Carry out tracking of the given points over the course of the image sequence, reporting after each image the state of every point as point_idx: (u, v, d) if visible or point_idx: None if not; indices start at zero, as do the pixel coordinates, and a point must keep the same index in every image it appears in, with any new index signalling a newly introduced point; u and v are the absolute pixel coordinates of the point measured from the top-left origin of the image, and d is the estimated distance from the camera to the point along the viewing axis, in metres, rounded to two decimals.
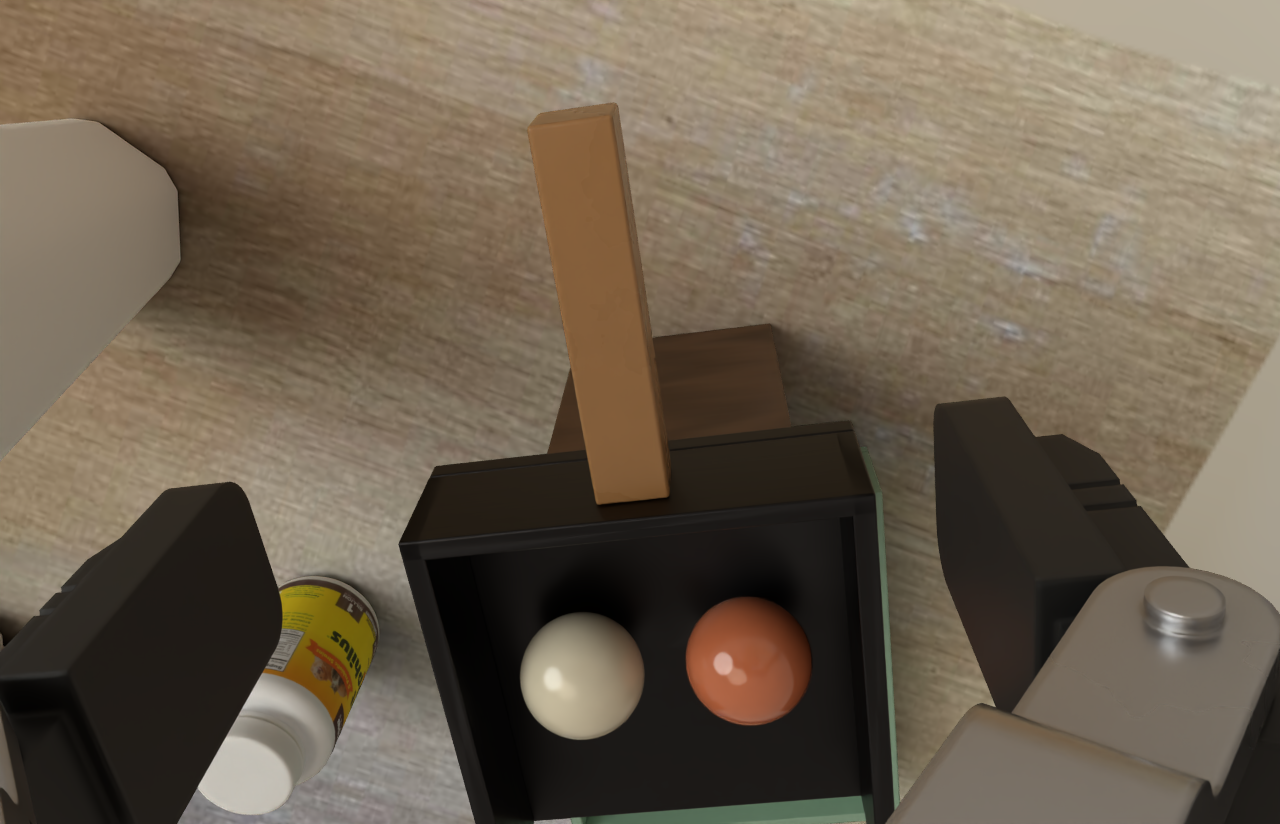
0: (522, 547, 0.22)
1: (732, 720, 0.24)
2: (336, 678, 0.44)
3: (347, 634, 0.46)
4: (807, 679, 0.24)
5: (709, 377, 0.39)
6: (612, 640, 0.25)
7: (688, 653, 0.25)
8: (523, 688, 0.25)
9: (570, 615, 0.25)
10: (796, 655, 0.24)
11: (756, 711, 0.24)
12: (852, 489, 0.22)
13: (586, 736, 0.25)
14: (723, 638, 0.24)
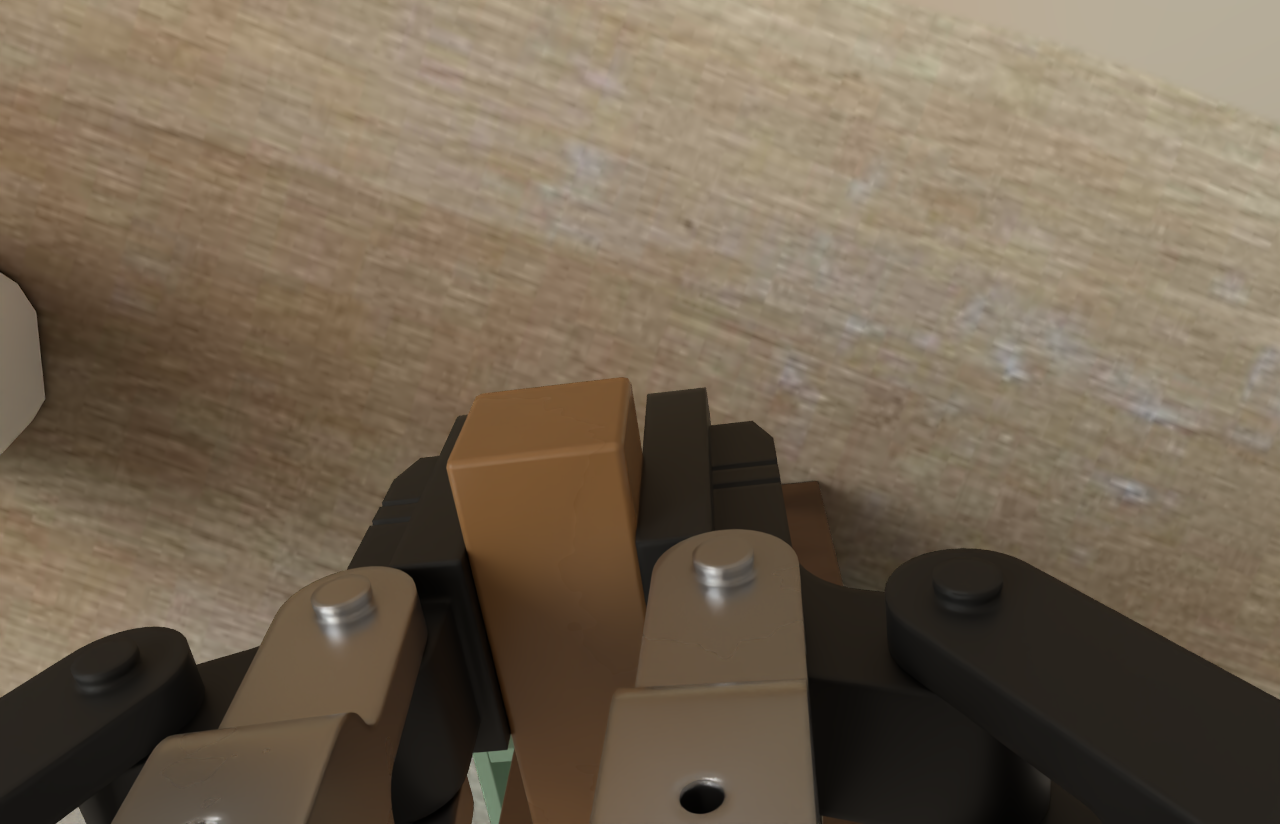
0: None
1: None
2: None
3: None
4: None
5: None
6: None
7: None
8: None
9: None
10: None
11: None
12: None
13: None
14: None
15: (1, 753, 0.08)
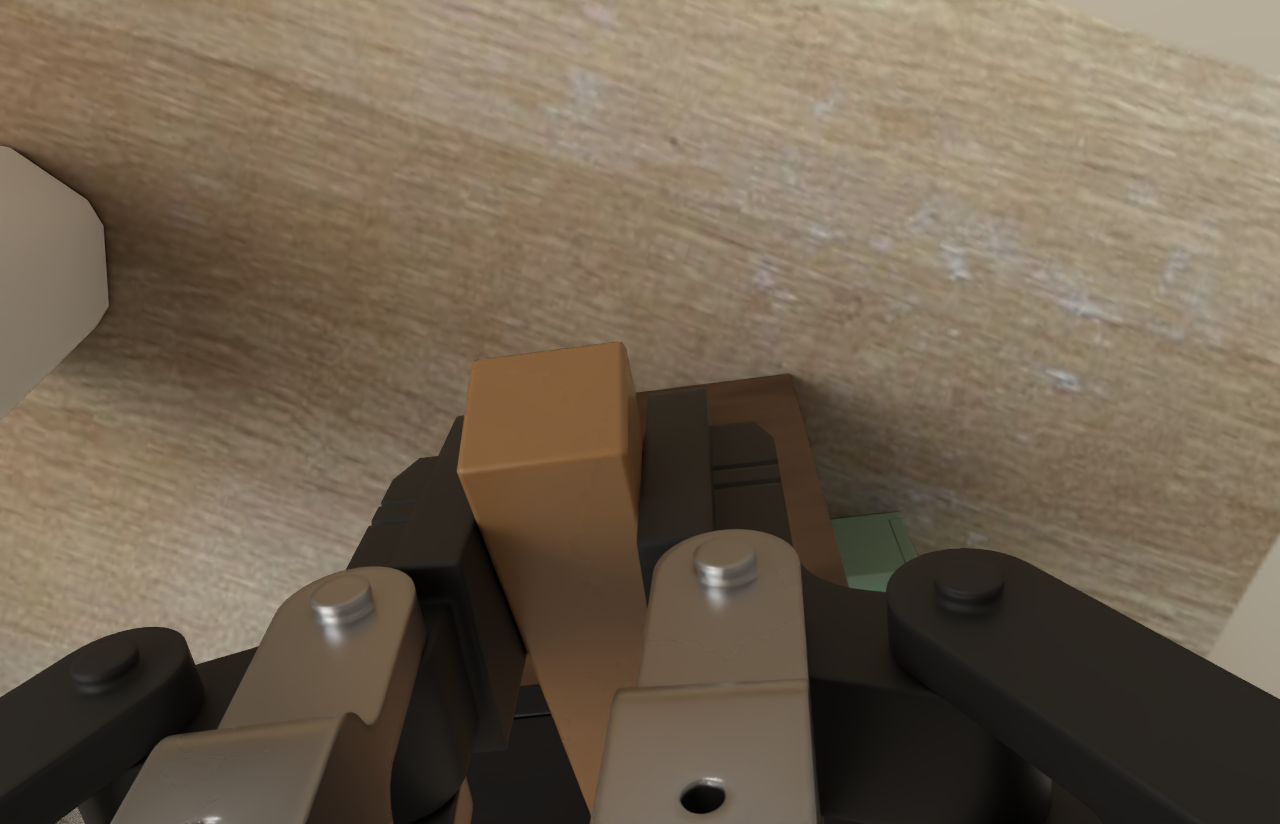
0: None
1: None
2: None
3: None
4: None
5: None
6: None
7: None
8: None
9: None
10: None
11: None
12: None
13: None
14: None
15: (0, 753, 0.08)
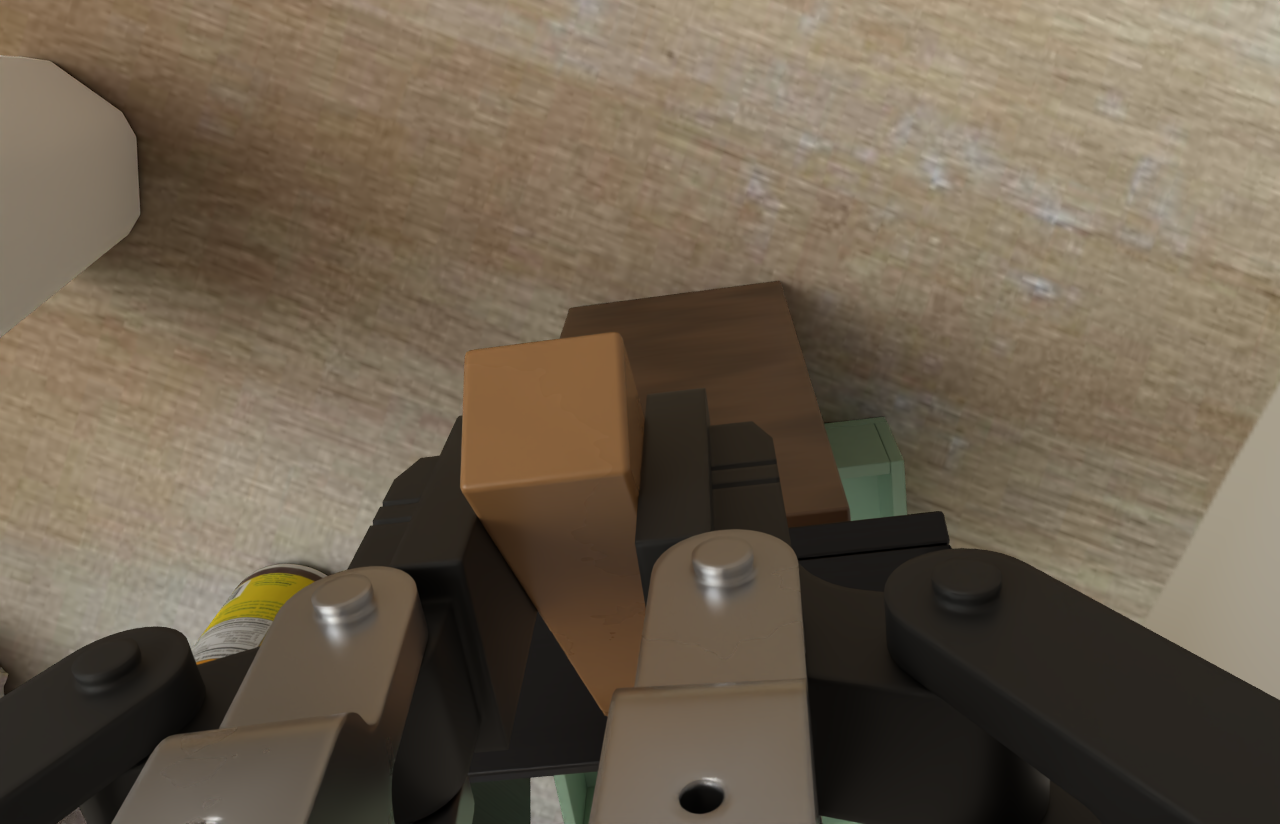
0: (511, 778, 0.17)
1: None
2: None
3: None
4: None
5: (715, 330, 0.35)
6: None
7: None
8: None
9: None
10: None
11: None
12: None
13: None
14: None
15: (2, 753, 0.08)
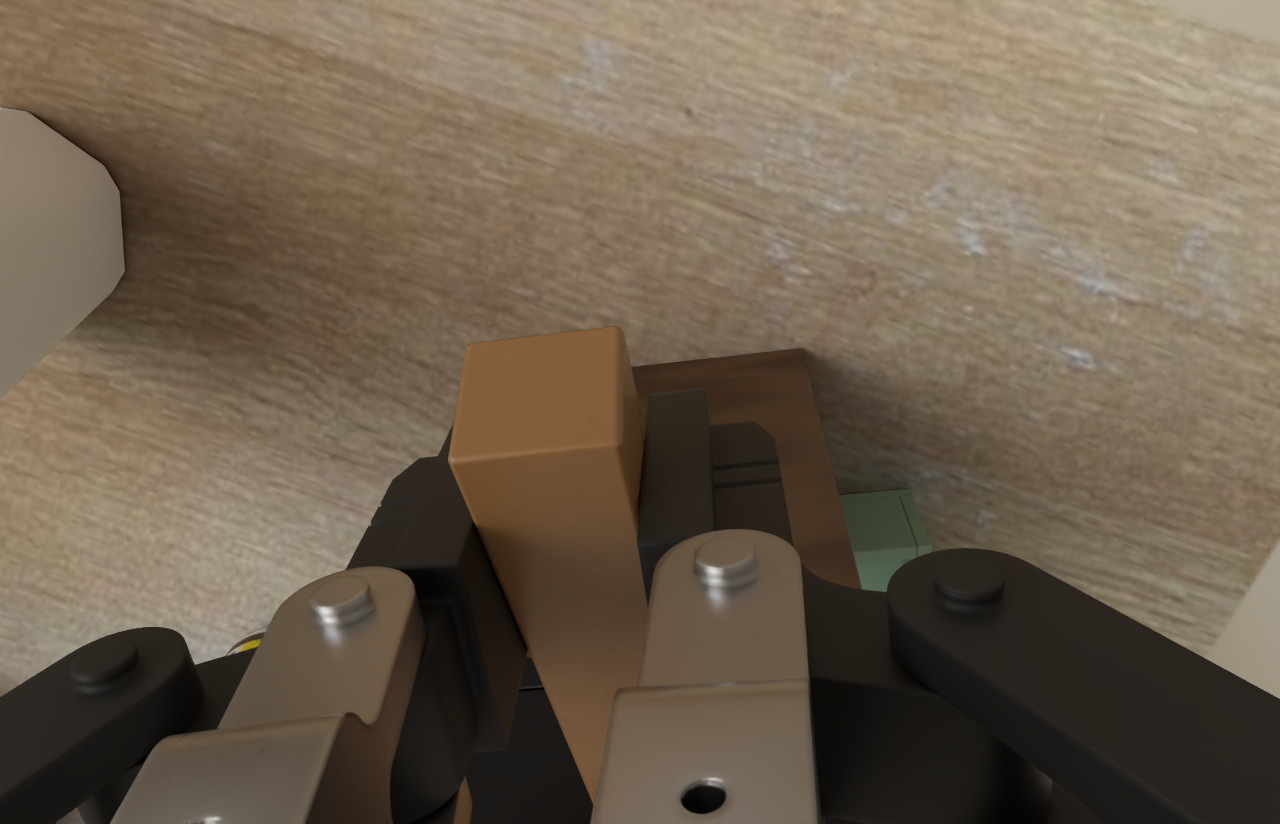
0: None
1: None
2: None
3: None
4: None
5: (733, 413, 0.33)
6: None
7: None
8: None
9: None
10: None
11: None
12: None
13: None
14: None
15: (0, 753, 0.08)
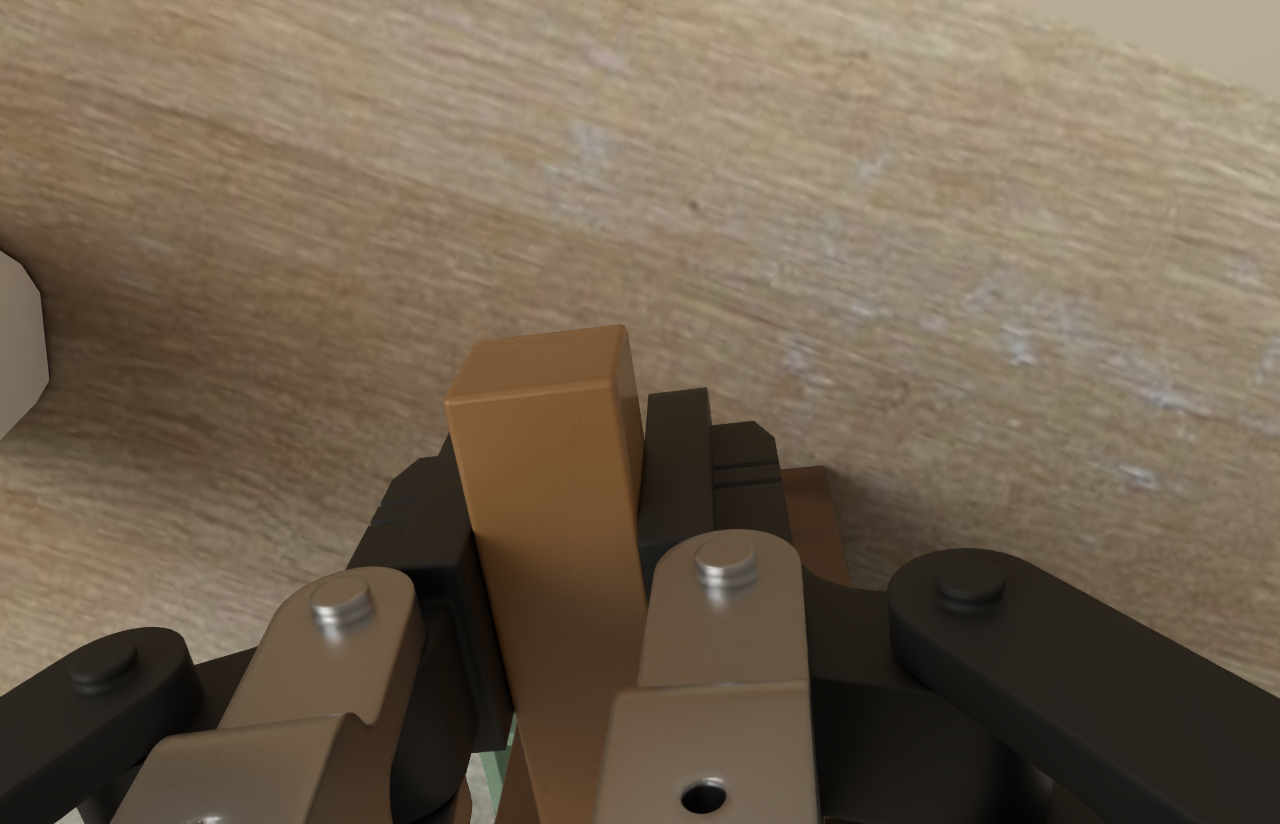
0: None
1: None
2: None
3: None
4: None
5: None
6: None
7: None
8: None
9: None
10: None
11: None
12: None
13: None
14: None
15: None
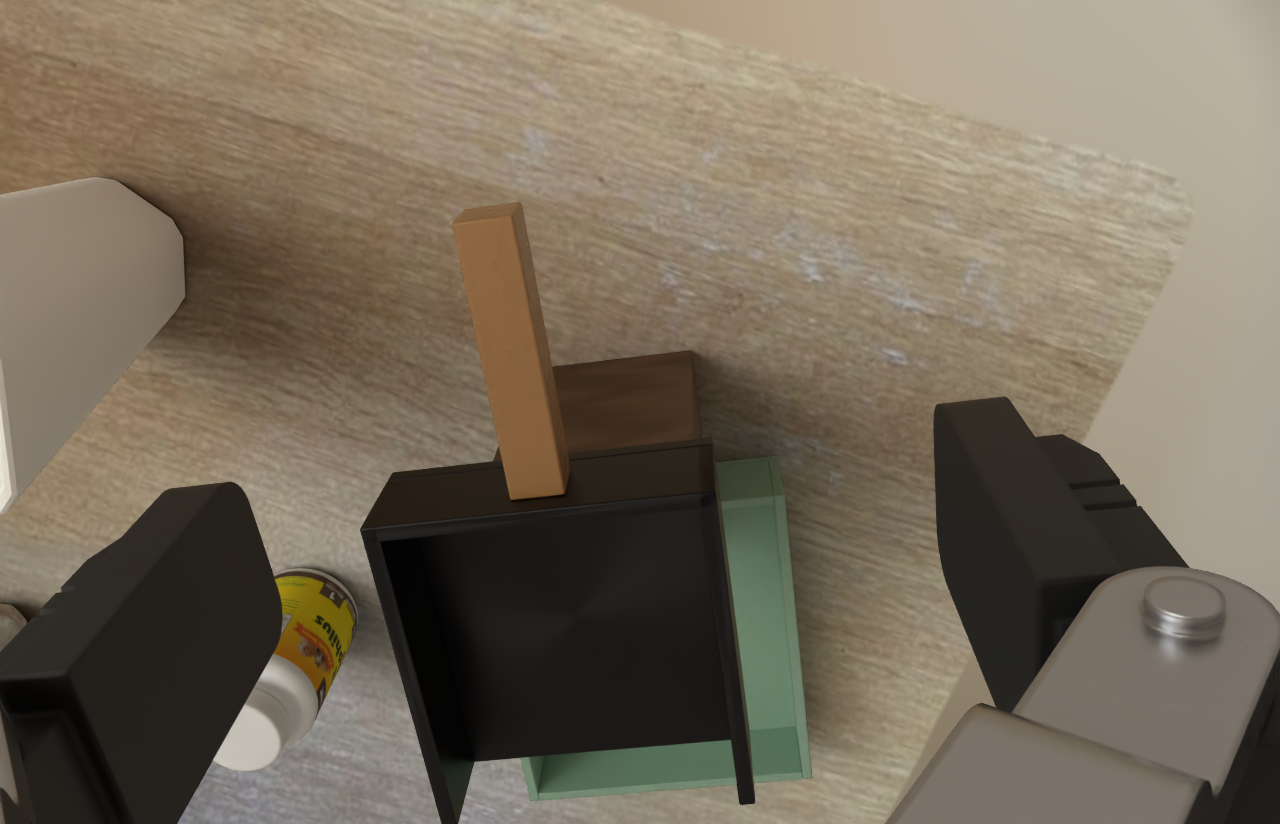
0: (453, 531, 0.30)
1: None
2: (319, 655, 0.51)
3: (329, 618, 0.53)
4: None
5: (633, 398, 0.46)
6: None
7: None
8: None
9: None
10: None
11: None
12: (699, 488, 0.29)
13: None
14: None
15: None
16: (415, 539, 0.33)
